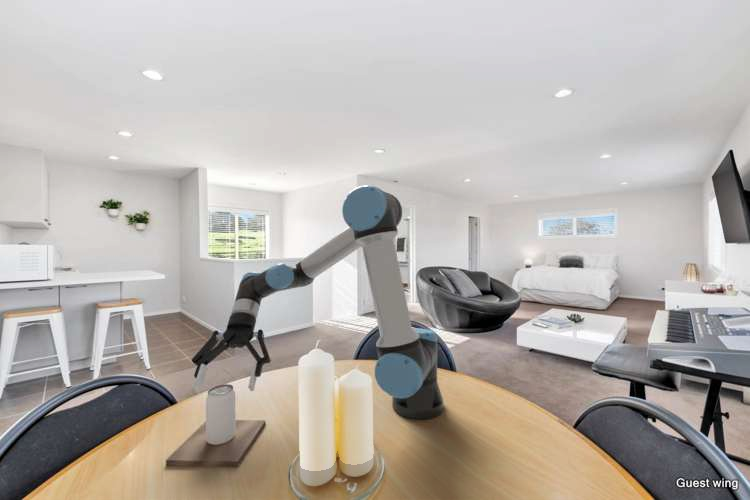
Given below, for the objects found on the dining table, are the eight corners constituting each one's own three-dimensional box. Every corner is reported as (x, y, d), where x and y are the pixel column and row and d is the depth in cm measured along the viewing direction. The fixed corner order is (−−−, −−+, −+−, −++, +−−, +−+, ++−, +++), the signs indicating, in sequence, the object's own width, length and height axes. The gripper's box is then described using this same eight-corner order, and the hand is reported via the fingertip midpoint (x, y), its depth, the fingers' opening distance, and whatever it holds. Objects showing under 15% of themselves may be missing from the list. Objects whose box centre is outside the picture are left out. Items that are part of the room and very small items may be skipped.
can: (241, 433, 78) (241, 386, 78) (218, 449, 73) (218, 397, 72) (223, 427, 81) (222, 381, 81) (200, 441, 75) (199, 392, 75)
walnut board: (265, 424, 84) (265, 420, 84) (237, 466, 68) (237, 461, 68) (207, 423, 85) (207, 419, 85) (166, 465, 69) (165, 460, 69)
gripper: (287, 323, 98) (276, 393, 83) (205, 325, 96) (179, 397, 82) (283, 309, 92) (270, 382, 78) (196, 311, 91) (166, 386, 76)
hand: (223, 390), depth 80 cm, fingers open, 13 cm apart
